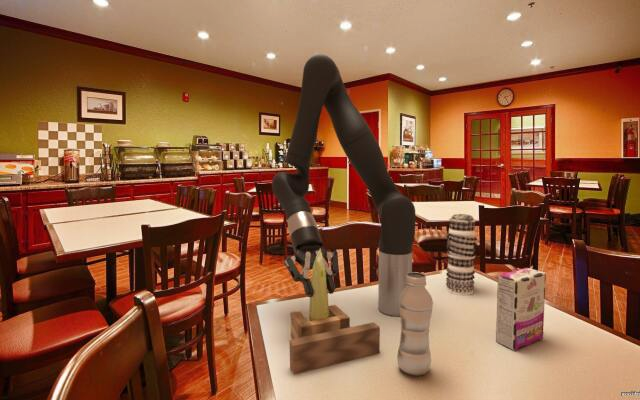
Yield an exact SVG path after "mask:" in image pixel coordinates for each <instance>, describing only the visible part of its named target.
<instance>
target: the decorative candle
mask: <svg viewBox="0 0 640 400" xmlns="http://www.w3.org/2000/svg"><path fill="white" fill-rule="evenodd" d="M448 220H449V228H448V231H446V239H447V241H446V250H448V251H446V256H447V257H448V262H447V268H446V273H445V274H446V276H447V277H446V278H445V281H446V282H445V286H446V289H445V290H446V291H447V292H448V293H450V292H451V293H450V294H454V295H458V296H471V295H473V294H474V293H473V292H475V291H474V289H475V286H474V285H475V280H474V279H475V273H476V272H475V269H474V267H475V266H474V259H475V258H476V256H477V255H476V253H475V252H476V251H477V249H476V248H475V247H474V246H477V245H478V244H477V242H476V241H478V238H477V237H476V236H475V235H476V229H475V228H476V222H477V220H476V219H475V218H474V217H473V215H471V214H466V213H465V214H463V213H458V214H457V213H456V214H453V215H452V216H451V217H450V218H448ZM472 293H473V294H472ZM470 294H471V295H470Z"/></svg>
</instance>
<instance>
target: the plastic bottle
mask: <svg viewBox="0 0 640 400" xmlns="http://www.w3.org/2000/svg"><path fill="white" fill-rule="evenodd" d="M426 276H427V275H426V274H424V273H421V272H416V271H414V272H413V271H412V272H411V273H407V275H406V284H407V287H406V288H405V289H404V290H403V292H402V293H401V295H400V298H399V307H400V315H401V316H400V337H399V338H400V339H399V346H398V349H397V355H396V359H397V365H398V366H399V368H400V370H401V371H402V372H404V373H405V374H407V375H411V376H422V375H426V374H427V373H428V371H429V370H430V367H431V363H432V354H431V350H430V335H429V334H430V324H431V323H430V322H431V318H432V312H433V306H434V301H433V297H432V295H431V294H430V291H428V289H427V288H426V286H427V277H426Z"/></svg>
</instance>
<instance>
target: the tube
mask: <svg viewBox="0 0 640 400" xmlns="http://www.w3.org/2000/svg"><path fill="white" fill-rule="evenodd" d="M310 281H311V285H312V288H313V292H314V294H313V296H312V297H309V307H308V309H309V312H308V313H309V314H308V315H309V316H308V317H309V318H308V321H314V320H319V319H324V318H329V306H330V305H329V291H328V288H327V282H326V274H325V267H324V261H323V256H322V253H321V248H320V250H319V252H318V254H317V256H316V260H315V262H314V265H313V269H311V278H310Z"/></svg>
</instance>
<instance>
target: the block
mask: <svg viewBox="0 0 640 400" xmlns="http://www.w3.org/2000/svg"><path fill="white" fill-rule="evenodd" d="M350 323H351V317H350V316H348V315H347V313H345V311H343V310H342V309H341V308H340V307H339V306H338V305H336V304H332V305H329V318H324V319H319V320H314V321H309V319H308V318H307V317H306V316H305V315H304V313H302V311H301V310H300V311H299V310H298V311H293V312H290V337H291V340H292V339H296V338H301V337H306V336H311V335H316V334H320V333H325V332H330V331H335V330H339V329H344V328H349V327H351V325H350Z"/></svg>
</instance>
